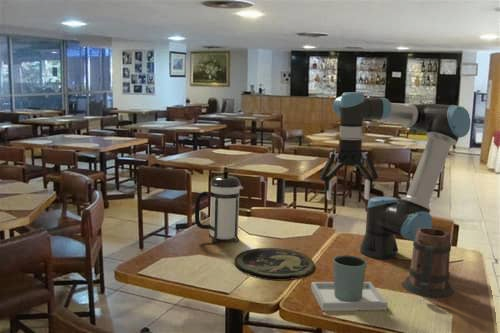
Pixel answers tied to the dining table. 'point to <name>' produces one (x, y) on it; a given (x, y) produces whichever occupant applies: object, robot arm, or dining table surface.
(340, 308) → the tray
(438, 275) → the tankard
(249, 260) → the decorative plate
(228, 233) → the coffee press
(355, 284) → the teal cup
